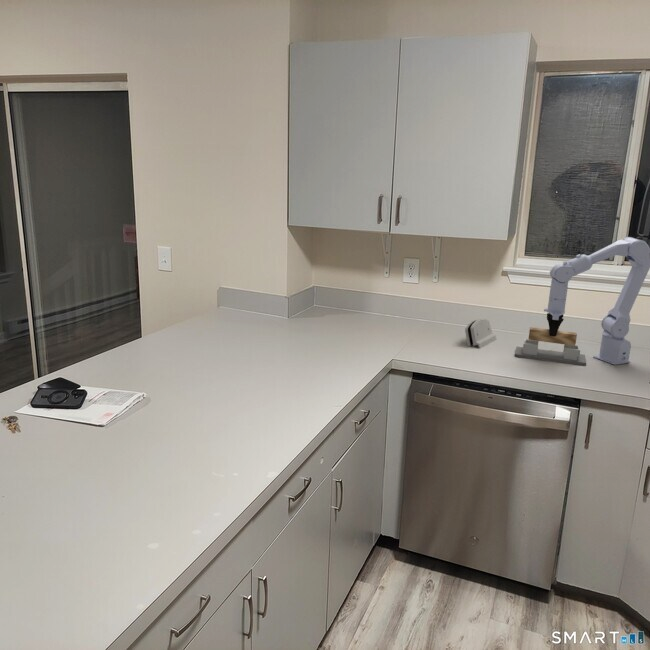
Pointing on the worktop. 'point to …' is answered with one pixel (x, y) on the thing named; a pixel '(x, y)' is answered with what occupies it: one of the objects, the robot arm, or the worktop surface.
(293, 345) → the worktop surface
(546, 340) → the rail
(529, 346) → the bracket board
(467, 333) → the grey stand
